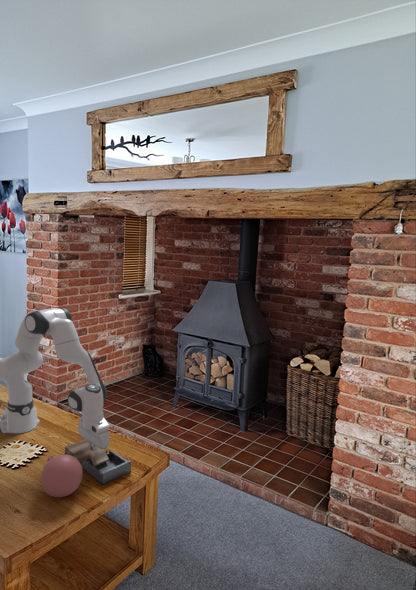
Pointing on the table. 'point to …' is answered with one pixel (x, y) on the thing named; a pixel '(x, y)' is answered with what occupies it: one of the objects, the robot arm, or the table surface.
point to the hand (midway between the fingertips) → (93, 450)
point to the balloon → (61, 475)
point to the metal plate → (80, 450)
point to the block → (98, 457)
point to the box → (108, 468)
